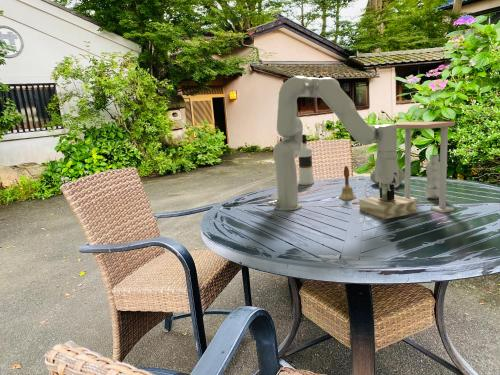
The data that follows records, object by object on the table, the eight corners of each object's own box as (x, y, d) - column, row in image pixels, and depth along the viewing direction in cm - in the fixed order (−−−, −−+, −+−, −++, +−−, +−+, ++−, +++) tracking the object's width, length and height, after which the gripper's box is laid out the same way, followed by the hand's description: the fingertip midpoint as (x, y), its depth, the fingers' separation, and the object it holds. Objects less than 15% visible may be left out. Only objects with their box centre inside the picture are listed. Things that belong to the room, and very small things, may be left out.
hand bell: (352, 200, 176) (351, 167, 173) (336, 199, 181) (335, 167, 178) (358, 196, 182) (358, 165, 179) (342, 195, 187) (342, 164, 184)
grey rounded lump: (364, 184, 210) (363, 166, 208) (390, 180, 215) (390, 163, 213) (384, 189, 193) (384, 170, 191) (412, 185, 198) (412, 166, 196)
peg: (386, 207, 151) (386, 181, 149) (380, 205, 155) (379, 180, 152) (394, 206, 152) (394, 180, 150) (387, 204, 156) (387, 178, 153)
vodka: (296, 183, 226) (294, 134, 220) (310, 181, 228) (308, 133, 222) (302, 186, 217) (299, 135, 211) (316, 184, 219) (314, 134, 213)
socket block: (383, 219, 144) (383, 207, 143) (359, 210, 159) (359, 199, 158) (416, 212, 148) (416, 201, 147) (390, 204, 163) (390, 193, 162)
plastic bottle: (443, 199, 164) (444, 155, 160) (427, 200, 166) (428, 156, 162) (439, 196, 170) (440, 153, 166) (423, 196, 172) (424, 154, 168)
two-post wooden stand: (426, 215, 144) (427, 124, 137) (383, 202, 168) (382, 124, 161) (454, 210, 148) (457, 121, 141) (408, 197, 172) (408, 121, 165)
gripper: (366, 154, 156) (367, 196, 159) (392, 158, 140) (392, 204, 144) (381, 152, 158) (381, 193, 161) (409, 155, 142) (408, 201, 146)
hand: (387, 198), depth 153 cm, fingers closed on peg, 3 cm apart
